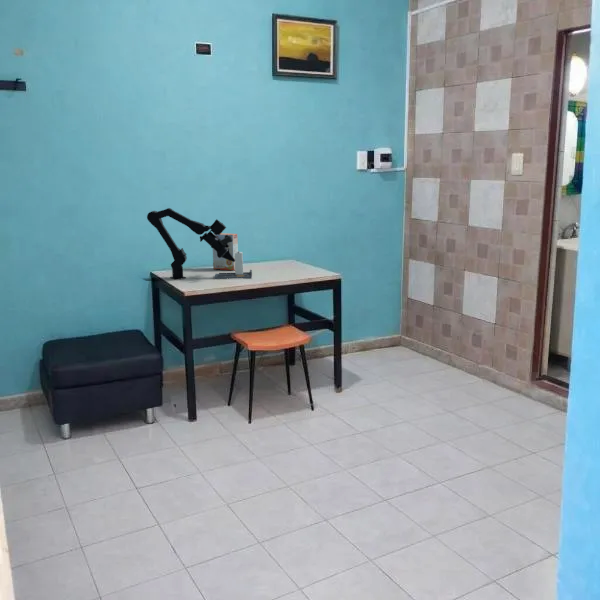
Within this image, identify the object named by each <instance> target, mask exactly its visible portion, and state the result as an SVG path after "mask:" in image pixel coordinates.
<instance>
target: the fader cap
mask: <svg viewBox="0 0 600 600" xmlns="http://www.w3.org/2000/svg"><path fill="white" fill-rule="evenodd" d="M243 252H244V251H240V250H238V252H235V270H234V271H235V272H234V273H235V275H243V272H244V259H243V258H244V256H243V255H244V254H243Z"/></svg>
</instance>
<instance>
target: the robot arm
mask: <svg viewBox="0 0 600 600" xmlns="http://www.w3.org/2000/svg"><path fill="white" fill-rule="evenodd" d="M166 217H169V218H171V219H173V220H175V221H177V222H178V223H181V224H182V225H184V226H186V227H188V228H189V230H191V231H192V232H193V233H195V234H196V235H198V236H199V239H200V240H199V241H200V242H201V243H202V242H203V240H204V242H205V243H207V245H208V246H210V248H211V249H212V250H213V249H214V250H215V251H217V256H218V257H219V258H221V257H222V258H225V259H227V260H230V261H233V262H235V259H234V258H233V256H232V255H231V253H230V248H229V249H227V248H228V247H229V245H228V244H227V243H229V242H232V241H233V239H232V237H231V235H230V236H228V235H225V238H223V239H222V240H221V239H220V238H219V239H218V238H217V237H216V236H215V235H217V234H218V235H220V234H221V233H223V232H224V231H225V230H226V229H227V227H226V225H225V224H224V223H223V222H221V221H220V220H219V219H217V218H216V219H215V220H214V222H213V223H212V224H211V225H205V224H204V222H203V223H202V222H199V221H196V220H193V219H190V218H189V217H186V216H184V215H183V214H181V213H179V212H177V211H175V210H174V209H172V208H170V207H167V208H165V209H162V210H159V211H156V210H151V211H149V212H148V213H147V215H146V218H147V219H146V220H147V221H148V222H149V223H150V224H151V225H152V226H153V227H154V228H155V229H156V230H157V232H158V233H159V234H160V236H161V237H162V239H163V241H164V242H165V244H166V246H167V247H168V249H169V250H170V252H171V255H172V258H173V262H171V263H170V267H171V271H172V272H171V273H172V274H171V275H172V276H169V277H170V279H172V280H179V279H180V280H181V278H182V279H186V276H184V268H183V265H184V264H185V263H186V261H187V258H188V257H187V253H186V252H185V251H184V248H179V247H178V245H177V244H176V242H175V241H174V239H173V238H172V236H171V234H170V232H169V231H168V230H167V228H166V227H165V225H164V223H163V219H164V218H166ZM162 218H163V219H162ZM214 234H215V235H214ZM201 235H202V236H201Z"/></svg>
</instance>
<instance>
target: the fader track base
mask: <svg viewBox="0 0 600 600" xmlns="http://www.w3.org/2000/svg"><path fill="white" fill-rule="evenodd" d="M252 277H253V270H252V269H249V271H248V272H247V271H246V272H244V271H243V275H235V272H218V273H215V274H214V275H213V279H214V280H228V279H229V278H243V279H252ZM227 278H228V279H227ZM229 280H230V279H229Z"/></svg>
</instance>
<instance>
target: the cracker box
mask: <svg viewBox="0 0 600 600" xmlns="http://www.w3.org/2000/svg"><path fill="white" fill-rule="evenodd" d="M213 234H214V233H213ZM214 235H215V234H214ZM225 235H228V236H230V235H231V237H232V239H233V241H232V242H229V243H227V244H228V245H229V247H228V248H227V249H229V248H230V253H231V255H232V256H233V258H234V259H235V252H238V251H239V239H238V233H228V232H227V233H225V232H224V233H223V232H222V233H221V234H220V235H218V234H217V235H215V236H216V237H217V238H218V239H219V238H220V239H221V240H222V239H223V238H225ZM212 259H213V260H212V266H213V270H216V269H220V271H221V270H222V271H232V270H234V271H235V262H233V261H230V260H227V259H225V258H222V257H221V258H219V257H218V256H217V251H215V250H214V249H213V248H212Z"/></svg>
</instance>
